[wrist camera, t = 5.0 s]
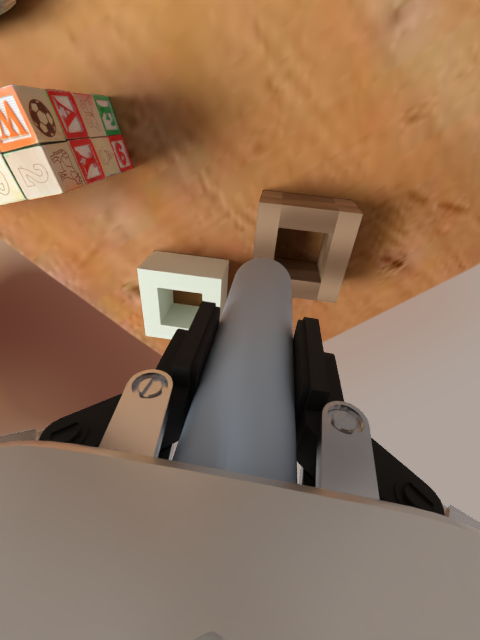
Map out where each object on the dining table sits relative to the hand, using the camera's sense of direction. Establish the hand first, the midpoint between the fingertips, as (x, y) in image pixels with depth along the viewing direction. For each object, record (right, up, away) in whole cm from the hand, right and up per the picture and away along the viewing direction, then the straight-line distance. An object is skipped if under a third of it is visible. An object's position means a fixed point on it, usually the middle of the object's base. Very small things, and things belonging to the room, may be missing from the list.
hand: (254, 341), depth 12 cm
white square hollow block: (-7, +5, +26) cm, 27 cm away
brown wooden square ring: (+6, +10, +20) cm, 23 cm away
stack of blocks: (-22, +18, +19) cm, 35 cm away
